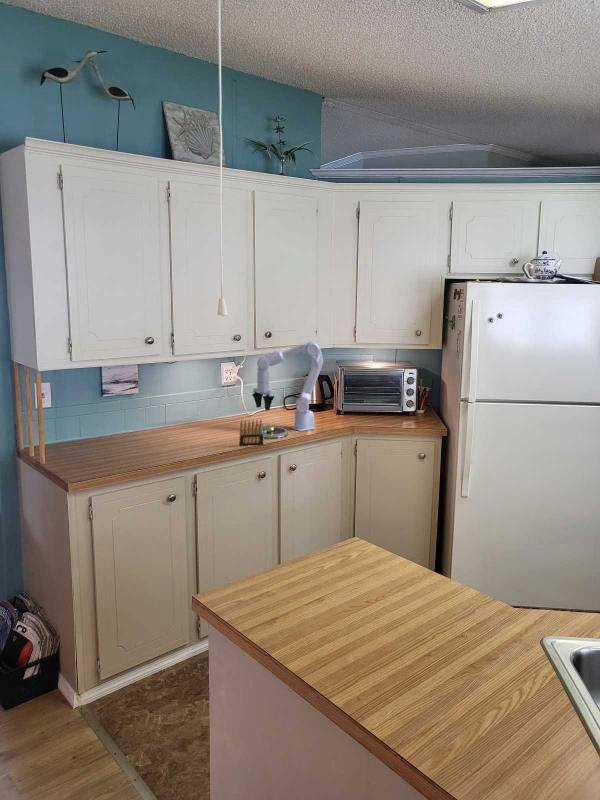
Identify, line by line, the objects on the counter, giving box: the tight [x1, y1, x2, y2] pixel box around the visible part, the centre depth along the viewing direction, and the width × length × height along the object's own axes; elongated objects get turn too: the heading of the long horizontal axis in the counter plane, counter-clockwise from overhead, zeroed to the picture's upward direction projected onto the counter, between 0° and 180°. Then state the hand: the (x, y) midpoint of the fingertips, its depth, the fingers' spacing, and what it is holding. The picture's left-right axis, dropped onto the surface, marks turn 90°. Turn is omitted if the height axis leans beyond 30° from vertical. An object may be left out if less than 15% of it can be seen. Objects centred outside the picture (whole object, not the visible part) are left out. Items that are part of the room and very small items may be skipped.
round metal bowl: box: [263, 426, 289, 440], centre depth 315 cm, size 17×17×4 cm
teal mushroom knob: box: [262, 423, 267, 434], centre depth 312 cm, size 4×4×5 cm
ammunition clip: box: [238, 418, 264, 447], centre depth 295 cm, size 11×2×12 cm, turn 106°
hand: (263, 408), depth 325 cm, fingers open, 7 cm apart
